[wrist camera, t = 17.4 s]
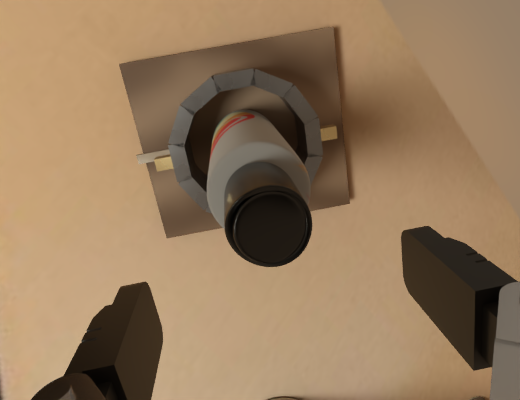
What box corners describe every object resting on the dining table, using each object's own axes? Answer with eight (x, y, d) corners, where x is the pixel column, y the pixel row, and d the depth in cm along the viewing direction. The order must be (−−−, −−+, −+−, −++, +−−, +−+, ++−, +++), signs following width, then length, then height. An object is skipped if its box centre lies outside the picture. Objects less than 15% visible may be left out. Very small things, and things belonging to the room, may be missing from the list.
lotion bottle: (199, 131, 34) (172, 215, 16) (253, 95, 34) (293, 137, 15) (235, 183, 36) (250, 313, 17) (287, 149, 36) (360, 246, 17)
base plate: (346, 199, 39) (350, 204, 38) (162, 234, 38) (160, 240, 37) (329, 27, 34) (334, 26, 32) (115, 65, 33) (111, 65, 32)
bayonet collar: (331, 186, 37) (345, 202, 33) (178, 215, 37) (172, 235, 32) (317, 55, 33) (331, 54, 29) (144, 86, 33) (133, 89, 28)
